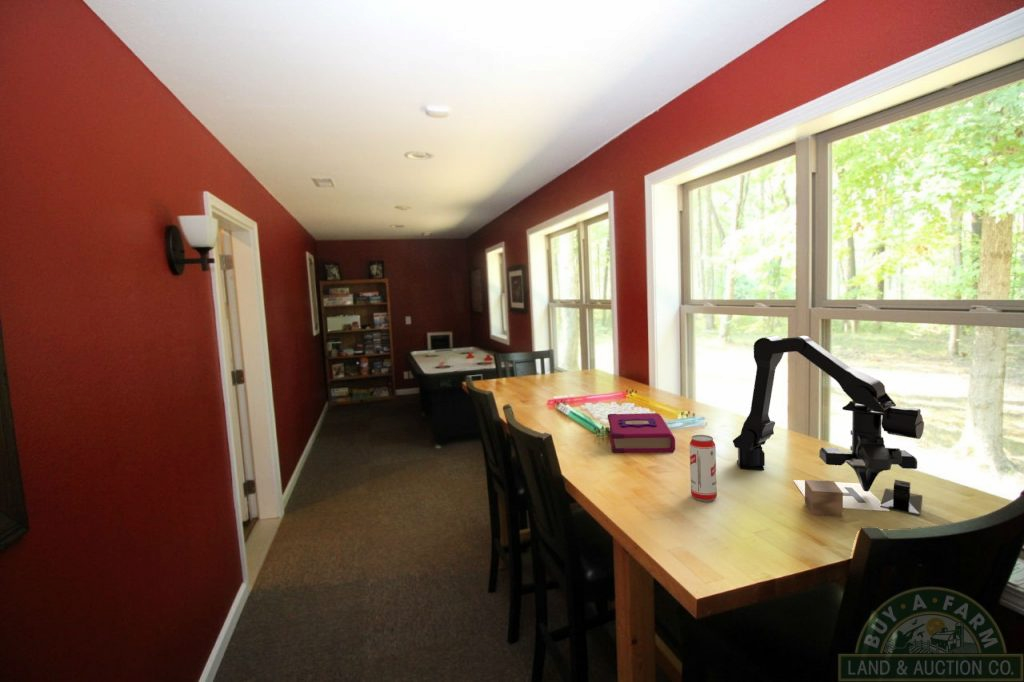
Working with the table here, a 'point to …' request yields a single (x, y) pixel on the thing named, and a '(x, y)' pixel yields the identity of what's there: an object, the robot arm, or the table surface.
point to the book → (640, 434)
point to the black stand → (901, 498)
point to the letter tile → (852, 496)
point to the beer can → (703, 468)
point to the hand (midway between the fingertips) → (865, 490)
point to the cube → (823, 498)
